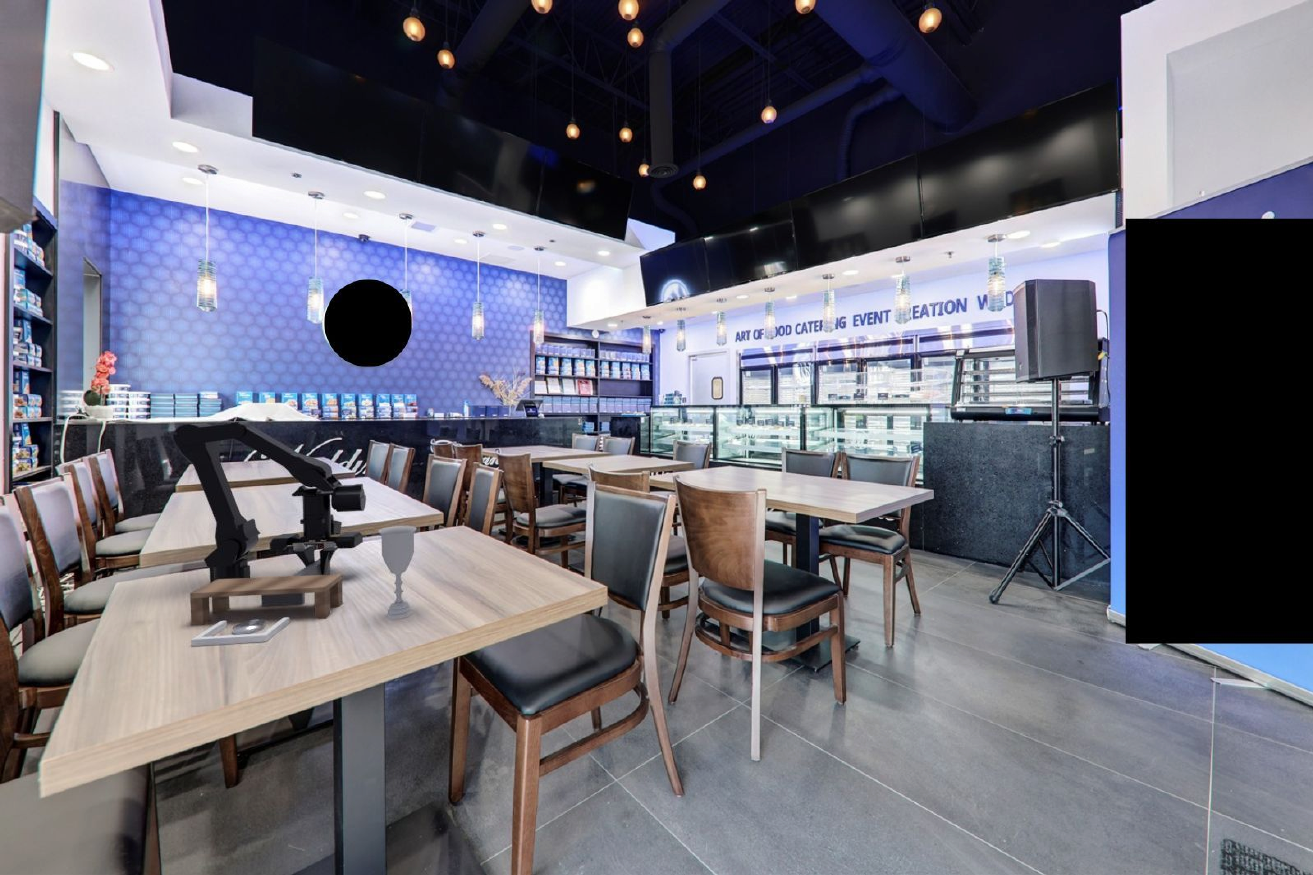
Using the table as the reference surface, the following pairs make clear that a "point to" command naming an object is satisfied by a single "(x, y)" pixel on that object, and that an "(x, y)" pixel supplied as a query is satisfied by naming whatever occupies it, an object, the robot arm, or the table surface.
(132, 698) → the table surface
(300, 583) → the walnut bench
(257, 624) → the disc
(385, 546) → the chalice
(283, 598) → the grey wedge block
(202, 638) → the frame
